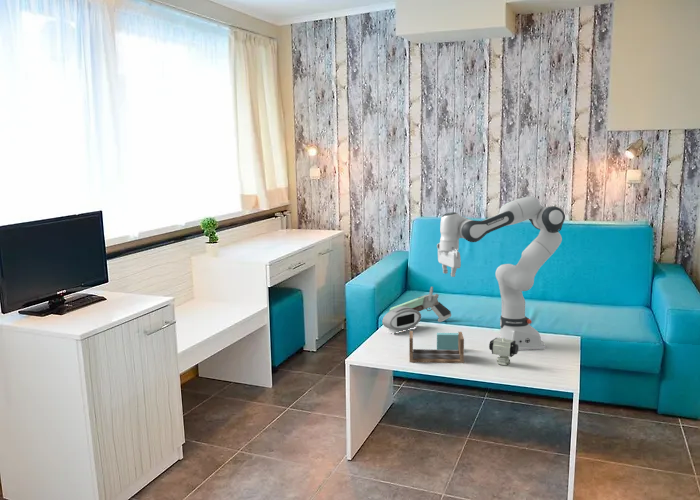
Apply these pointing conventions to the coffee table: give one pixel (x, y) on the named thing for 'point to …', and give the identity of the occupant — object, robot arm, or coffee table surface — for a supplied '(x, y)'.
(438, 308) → the ray gun
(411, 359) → the cabinet base
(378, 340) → the coffee table surface
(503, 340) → the pneumatic valve
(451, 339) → the door panel
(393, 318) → the alarm clock
